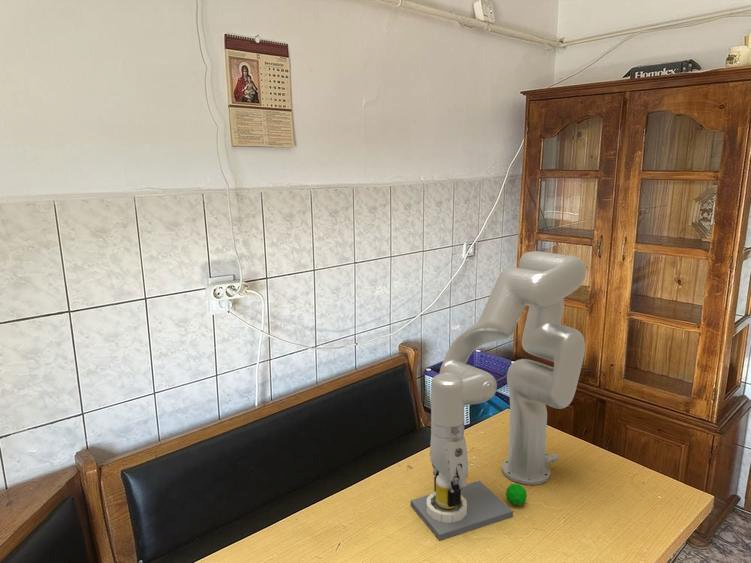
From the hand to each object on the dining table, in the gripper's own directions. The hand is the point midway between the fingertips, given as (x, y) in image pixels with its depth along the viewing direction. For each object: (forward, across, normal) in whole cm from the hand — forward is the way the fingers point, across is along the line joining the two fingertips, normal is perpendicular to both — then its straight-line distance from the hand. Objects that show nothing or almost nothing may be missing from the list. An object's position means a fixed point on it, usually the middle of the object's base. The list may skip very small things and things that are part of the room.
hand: (447, 496), depth 127 cm
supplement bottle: (+3, 0, 0) cm, 3 cm away
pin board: (+5, 0, -4) cm, 6 cm away
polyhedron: (+5, -3, -18) cm, 19 cm away
